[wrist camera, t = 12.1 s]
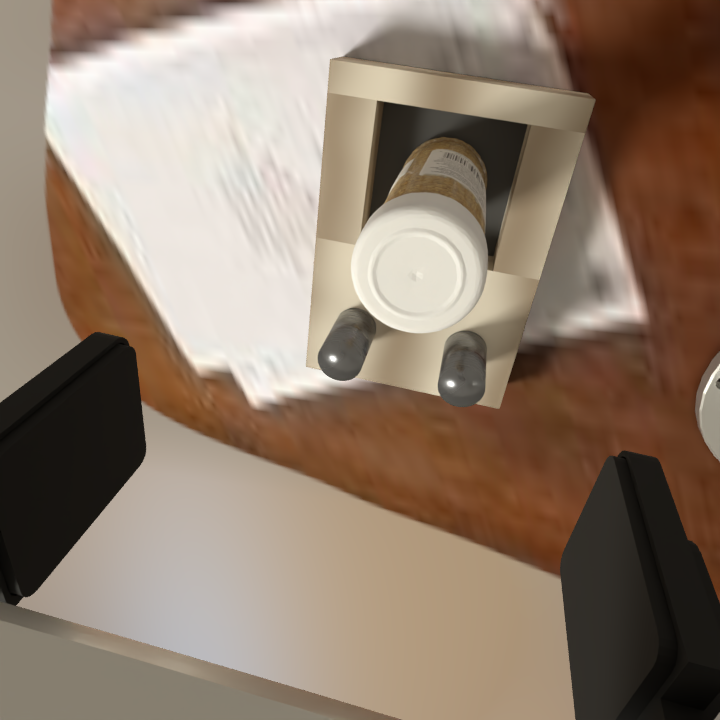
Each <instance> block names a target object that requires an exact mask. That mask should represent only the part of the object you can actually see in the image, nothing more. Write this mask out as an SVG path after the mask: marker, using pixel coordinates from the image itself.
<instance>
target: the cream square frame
mask: <svg viewBox="0 0 720 720" xmlns="http://www.w3.org/2000/svg"><path fill="white" fill-rule="evenodd" d="M595 100H596V99H594V98H593V97H592V96H591V95H589V94H588V93H581V92H575V91H568V90H562V89H555V88H548V87H542V86H535V85H528V84H522V83H515V82H508V81H502V80H495V79H488V78H482V77H475V76H469V75H462V74H455V73H449V72H442V71H435V70H429V69H422V68H415V67H409V66H402V65H395V64H389V63H382V62H376V61H369V60H362V59H356V58H349V57H339V58H334V59H330V67H329V80H328V93H327V106H326V118H325V131H324V144H323V156H322V169H321V182H320V195H319V207H318V220H317V233H316V245H315V258H314V271H313V284H312V296H311V309H310V322H309V334H308V347H307V360H306V367H310V368H314V369H319V370H322V371H323V372H324V373H325V374H326V375H327V376H329V377H330V378H332V379H335V380H339V381H347V380H351V379H353V378H360V379H365V380H369V381H374V382H378V383H383V384H387V385H392V386H397V387H401V388H406V389H410V390H415V391H420V392H424V393H429V394H433V395H438V396H441V397H442V398H443V400H445V401H446V402H447V403H449V404H451V405H453V406H458V407H467V406H471V405H474V404H479V405H484V406H488V407H493V408H497V409H499V408H500V405H501V402H502V398H503V395H504V392H505V389H506V386H507V382H508V379H509V376H510V373H511V370H512V366H513V363H514V360H515V357H516V354H517V350H518V347H519V344H520V341H521V338H522V334H523V331H524V328H525V325H526V322H527V318H528V315H529V312H530V309H531V305H532V302H533V299H534V296H535V293H536V289H537V286H538V283H539V280H540V277H541V273H542V270H543V267H544V264H545V261H546V257H547V254H548V251H549V248H550V245H551V241H552V238H553V235H554V232H555V229H556V225H557V222H558V219H559V216H560V213H561V209H562V206H563V203H564V200H565V197H566V193H567V190H568V187H569V184H570V181H571V177H572V174H573V171H574V168H575V165H576V161H577V158H578V155H579V152H580V148H581V145H582V142H583V139H584V136H585V132H586V129H587V126H588V123H589V120H590V116H591V113H592V110H593V107H594V104H595ZM441 137H446V138H456V139H459V140H462V141H464V142H465V143H467V144H469V145H470V146H472V147H473V148H474V149H475V150H476V152H477V153H478V154H479V155H480V157H481V159H482V160H483V162H484V164H485V167H486V172H487V189H486V227H485V238H486V243H487V249H488V269H487V278H486V283H485V286H484V290H483V293H482V295H481V297H480V299H479V301H478V302H477V304H476V305H475V307H474V308H473V309H472V311H471V312H470V313H469V314H468V315H467V316H466V317H464V318H463V319H462V320H461V321H459V322H458V323H456V324H454V325H453V326H451V327H448V328H446V329H443V330H441V331H437V332H431V333H409V332H405V331H400V330H397V329H394V328H392V327H390V326H388V325H386V324H384V323H382V322H381V321H379V320H378V319H377V318H375V317H374V316H373V315H372V314H371V313H370V312H369V311H368V310H367V309H366V308H365V306H364V305H363V303H362V302H361V301H360V299H359V297H358V295H357V293H356V291H355V288H354V284H353V281H352V276H351V260H352V254H353V250H354V247H355V244H356V242H357V239H358V237H359V235H360V233H361V231H362V230H363V228H364V226H365V225H366V223H367V221H368V220H369V218H370V217H371V216H372V214H373V213H374V212H375V211H376V210H377V209H378V208H380V207H381V206H382V205H383V204H384V202H385V201H386V199H387V197H388V195H389V192H390V190H391V188H392V186H393V184H394V182H395V180H396V179H397V177H398V175H399V174H400V172H401V171H402V169H403V167H404V164H405V162H406V160H407V159H408V158H409V156H410V155H411V154H412V152H413V151H414V150H415V149H416V148H417V147H419V146H420V145H421V144H423V143H424V142H426V141H428V140H431V139H435V138H441Z"/></svg>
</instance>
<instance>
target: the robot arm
mask: <svg viewBox="0 0 720 720" xmlns="http://www.w3.org/2000/svg"><path fill="white" fill-rule="evenodd" d="M695 412H696V418H697V423H698V427H699V429H700V432H701V434H702V436H703V438H704V441H705V443H706V444H707V446H708V447H709V449H710V450H711V452H712V453H713V455H714V456H715V457H716V458H717V459H718V460H719V461H720V351H719V353H718V354H717V355H716V356H715V357H714V358H713V360H712V361H711V363H710V365H709V366H708V368H707V370H706V371H705V373H704V375H703V376H702V379H701V382H700V385H699V388H698V391H697V394H696V406H695ZM145 454H146V441H145V432H144V423H143V415H142V405H141V396H140V387H139V378H138V368H137V359H136V352H135V350H134V348H133V347H130V346H129V343H128V341H127V339H125V338H123V337H118V336H114V335H109V334H105V333H101V332H95V333H93V334H91V335H90V336H89V337H87V338H86V339H85V340H83V341H82V342H81V343H79V344H78V345H77V346H75V347H74V348H73V349H71V350H70V351H69V352H67V353H66V354H65V355H63V356H62V357H61V358H59V359H58V360H57V361H55V362H54V363H53V364H51V365H50V366H49V367H47V368H46V369H45V370H43V371H42V372H41V373H40V374H38V375H37V376H35V377H34V378H33V379H31V380H30V381H29V382H27V383H26V384H25V385H24V386H22V387H21V388H19V389H18V390H17V391H15V392H14V393H13V394H11V395H10V396H9V397H7V398H6V399H5V400H3V401H2V402H1V403H0V720H401V719H398V718H394V717H391V716H388V715H384V714H381V713H377V712H374V711H371V710H367V709H364V708H361V707H358V706H354V705H351V704H348V703H344V702H341V701H338V700H335V699H331V698H328V697H324V696H321V695H318V694H315V693H311V692H308V691H305V690H301V689H297V688H294V687H291V686H288V685H284V684H281V683H278V682H274V681H271V680H267V679H264V678H261V677H257V676H254V675H250V674H247V673H244V672H240V671H237V670H234V669H230V668H227V667H224V666H220V665H217V664H213V663H210V662H206V661H203V660H200V659H196V658H193V657H190V656H186V655H183V654H179V653H176V652H173V651H169V650H166V649H163V648H159V647H155V646H152V645H149V644H146V643H142V642H138V641H135V640H132V639H128V638H124V637H121V636H118V635H114V634H110V633H107V632H104V631H101V630H97V629H94V628H90V627H87V626H83V625H80V624H76V623H73V622H70V621H66V620H63V619H59V618H56V617H52V616H49V615H45V614H42V613H39V612H35V611H32V610H28V609H25V608H21V607H18V606H16V605H17V604H18V603H19V601H20V600H21V599H22V598H23V597H28V596H31V595H32V594H34V593H35V592H36V591H37V590H38V588H39V587H40V586H41V585H42V584H43V582H44V581H45V580H46V579H47V578H48V576H49V575H50V574H51V573H52V571H53V570H54V569H55V568H56V566H57V565H58V564H59V563H60V562H61V561H62V559H63V558H64V557H65V556H66V555H67V553H68V552H69V551H70V550H71V549H72V547H73V546H74V544H76V542H77V541H78V540H79V539H80V538H81V536H82V535H83V534H84V533H85V531H86V530H87V529H88V528H89V527H90V526H91V524H92V523H93V522H94V521H95V519H96V518H97V517H98V516H99V515H100V513H101V512H102V511H103V510H104V509H105V507H106V506H107V505H108V504H109V503H110V501H111V500H112V499H113V498H114V496H115V495H116V494H117V493H118V492H119V490H120V489H121V488H122V487H123V486H124V484H125V483H126V482H127V481H128V480H129V478H130V477H131V476H132V475H133V473H134V472H135V471H136V470H137V469H138V467H139V466H140V465H141V463H142V462H143V459H144V457H145ZM560 573H561V582H562V593H563V602H564V612H565V622H566V631H567V641H568V650H569V661H570V670H571V680H572V690H573V699H574V709H575V719H576V720H720V603H719V600H718V598H717V595H716V592H715V590H714V587H713V584H712V581H711V579H710V576H709V573H708V571H707V568H706V565H705V563H704V560H703V557H702V555H701V552H700V551H699V549H698V547H697V545H696V544H694V543H693V542H692V541H689V540H687V537H686V534H685V531H684V528H683V526H682V523H681V520H680V517H679V514H678V512H677V509H676V506H675V503H674V500H673V498H672V495H671V492H670V489H669V486H668V484H667V481H666V478H665V475H664V472H663V470H662V467H661V464H660V462H659V460H658V459H657V458H655V457H651V456H647V455H642V454H638V453H633V452H629V451H622V452H621V453H620V454H619V455H618V457H615V456H609V457H608V458H607V460H606V461H605V463H604V466H603V468H602V470H601V472H600V474H599V476H598V478H597V481H596V483H595V485H594V487H593V489H592V491H591V493H590V496H589V498H588V500H587V502H586V504H585V506H584V508H583V511H582V513H581V515H580V517H579V519H578V521H577V523H576V526H575V528H574V530H573V532H572V534H571V536H570V539H569V541H568V543H567V545H566V547H565V549H564V552H563V554H562V558H561V565H560Z"/></svg>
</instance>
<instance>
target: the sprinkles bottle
mask: <svg viewBox="0 0 720 720" xmlns="http://www.w3.org/2000/svg"><path fill="white" fill-rule="evenodd" d="M486 189H487V172H486V167H485V164H484V162H483V160H482V159H481V157H480V155H479V154H478V153H477V152H476V150H475V149H474V148H473V147H472V146H470V145H469V144H467V143H465V142H464V141H462V140H459V139H456V138H446V137H441V138H435V139H431V140H428V141H426V142H424V143H423V144H421V145H420V146H419V147H417V148H416V149H415V150H414V151H413V152H412V154H411V155H410V156H409V158H408V159H407V160H406V162H405V164H404V167H403V169H402V171H401V172H400V174H399V175H398V177H397V179H396V180H395V182H394V184H393V186H392V188H391V190H390V192H389V195H388V197H387V199H386V201H385V202H384V204H383V205H382V206H381V207H380V208H378V209H377V210H376V211H375V212H374V213H373V214H372V216H371V217H370V218H369V220H368V221H367V223H366V225H365V226H364V228H363V230H362V231H361V233H360V235H359V237H358V239H357V242H356V244H355V247H354V250H353V254H352V260H351V276H352V281H353V284H354V288H355V291H356V293H357V295H358V297H359V299H360V301H361V302H362V303H363V305H364V306H365V308H366V309H367V310H368V311H369V312H370V313H371V314H372V315H373V316H374V317H375V318H377V319H378V320H379V321H381V322H382V323H384V324H386V325H388V326H390V327H392V328H394V329H397V330H400V331H405V332H409V333H431V332H437V331H441V330H443V329H446V328H448V327H451V326H453V325H454V324H456V323H458V322H459V321H461V320H462V319H463V318H464V317H466V316H467V315H468V314H469V313H470V312H471V311H472V309H473V308H474V307H475V305H476V304H477V302H478V301H479V299H480V297H481V295H482V293H483V290H484V286H485V283H486V278H487V269H488V249H487V243H486V238H485V227H486Z"/></svg>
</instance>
